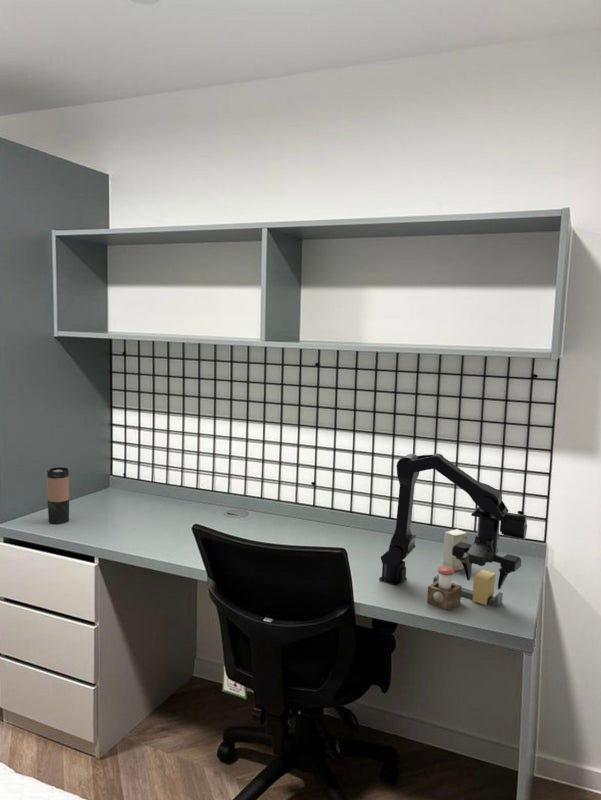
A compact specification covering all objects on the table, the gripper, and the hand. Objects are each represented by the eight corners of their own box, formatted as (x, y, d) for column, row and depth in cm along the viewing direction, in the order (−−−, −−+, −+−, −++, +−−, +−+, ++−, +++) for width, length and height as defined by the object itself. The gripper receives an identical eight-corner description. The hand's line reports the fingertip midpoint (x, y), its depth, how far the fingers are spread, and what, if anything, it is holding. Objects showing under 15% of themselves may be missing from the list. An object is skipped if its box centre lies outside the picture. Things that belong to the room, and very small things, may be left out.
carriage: (472, 601, 185) (474, 575, 184) (480, 594, 190) (482, 569, 189) (485, 605, 183) (487, 579, 182) (493, 598, 187) (495, 573, 186)
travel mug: (72, 522, 242) (71, 470, 239) (52, 525, 237) (51, 473, 234) (65, 516, 248) (64, 466, 245) (45, 520, 243) (43, 468, 240)
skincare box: (452, 572, 206) (454, 535, 205) (441, 567, 210) (444, 531, 208) (465, 568, 210) (467, 532, 208) (454, 563, 213) (457, 528, 212)
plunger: (433, 592, 183) (435, 569, 182) (440, 587, 187) (442, 565, 186) (448, 596, 181) (449, 573, 180) (454, 591, 184) (456, 569, 183)
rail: (432, 587, 194) (433, 577, 194) (438, 584, 197) (438, 574, 196) (497, 608, 182) (498, 597, 181) (502, 603, 185) (502, 593, 184)
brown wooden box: (426, 603, 183) (427, 586, 182) (438, 595, 189) (439, 578, 188) (449, 611, 179) (450, 594, 178) (460, 602, 185) (461, 585, 184)
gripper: (445, 532, 183) (441, 584, 185) (509, 548, 171) (505, 603, 174) (461, 522, 192) (458, 572, 194) (523, 537, 180) (519, 590, 182)
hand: (483, 584), depth 186 cm, fingers open, 9 cm apart
